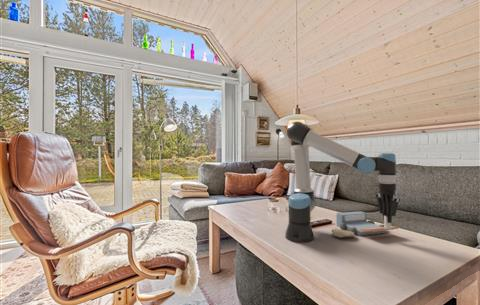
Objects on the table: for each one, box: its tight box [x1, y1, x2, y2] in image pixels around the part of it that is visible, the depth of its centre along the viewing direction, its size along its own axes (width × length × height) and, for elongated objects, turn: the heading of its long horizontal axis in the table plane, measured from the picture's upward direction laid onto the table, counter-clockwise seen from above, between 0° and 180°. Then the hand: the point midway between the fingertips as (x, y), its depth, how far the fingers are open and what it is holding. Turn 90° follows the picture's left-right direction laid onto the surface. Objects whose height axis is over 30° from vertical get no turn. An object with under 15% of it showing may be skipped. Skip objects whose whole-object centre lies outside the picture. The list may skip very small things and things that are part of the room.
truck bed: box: [336, 211, 387, 236], centre depth 138 cm, size 22×20×8 cm
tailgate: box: [360, 226, 399, 232], centre depth 125 cm, size 17×1×8 cm
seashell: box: [331, 228, 355, 239], centre depth 127 cm, size 12×12×3 cm
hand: (387, 228), depth 120 cm, fingers closed
